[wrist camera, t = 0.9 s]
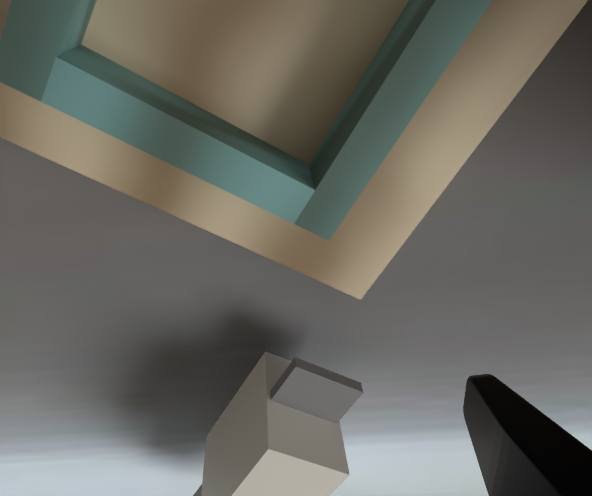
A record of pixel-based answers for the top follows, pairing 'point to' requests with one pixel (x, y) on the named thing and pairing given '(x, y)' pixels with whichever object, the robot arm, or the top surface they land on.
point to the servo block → (280, 433)
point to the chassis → (273, 109)
